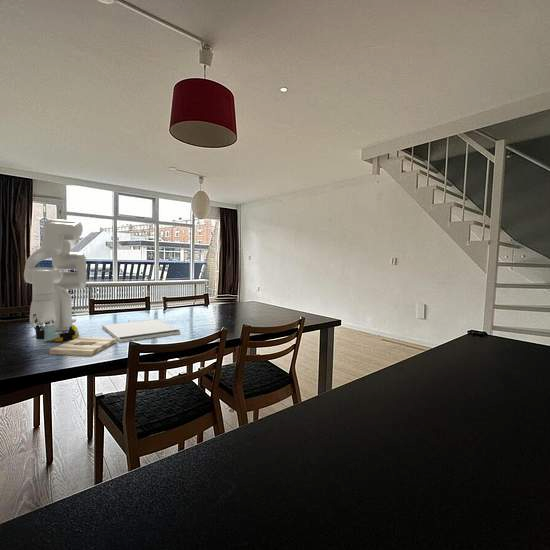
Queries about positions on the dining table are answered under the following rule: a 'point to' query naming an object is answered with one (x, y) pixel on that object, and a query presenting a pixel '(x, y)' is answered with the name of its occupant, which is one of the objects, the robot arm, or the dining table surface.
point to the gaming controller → (67, 335)
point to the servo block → (48, 333)
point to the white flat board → (139, 330)
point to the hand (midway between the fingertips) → (44, 337)
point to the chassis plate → (78, 346)
